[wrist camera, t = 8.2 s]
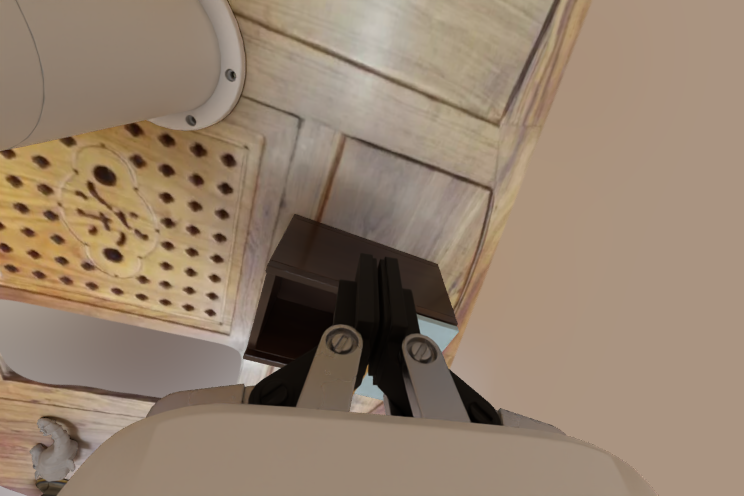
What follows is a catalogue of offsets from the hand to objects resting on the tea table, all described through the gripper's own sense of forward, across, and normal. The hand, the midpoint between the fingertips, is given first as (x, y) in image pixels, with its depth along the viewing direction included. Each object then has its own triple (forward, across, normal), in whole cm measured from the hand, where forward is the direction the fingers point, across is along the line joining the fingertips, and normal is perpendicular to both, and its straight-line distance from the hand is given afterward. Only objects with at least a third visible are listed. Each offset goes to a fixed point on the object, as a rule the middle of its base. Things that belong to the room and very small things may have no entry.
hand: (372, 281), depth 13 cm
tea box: (+18, 0, +14) cm, 23 cm away
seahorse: (+18, +51, +66) cm, 85 cm away
